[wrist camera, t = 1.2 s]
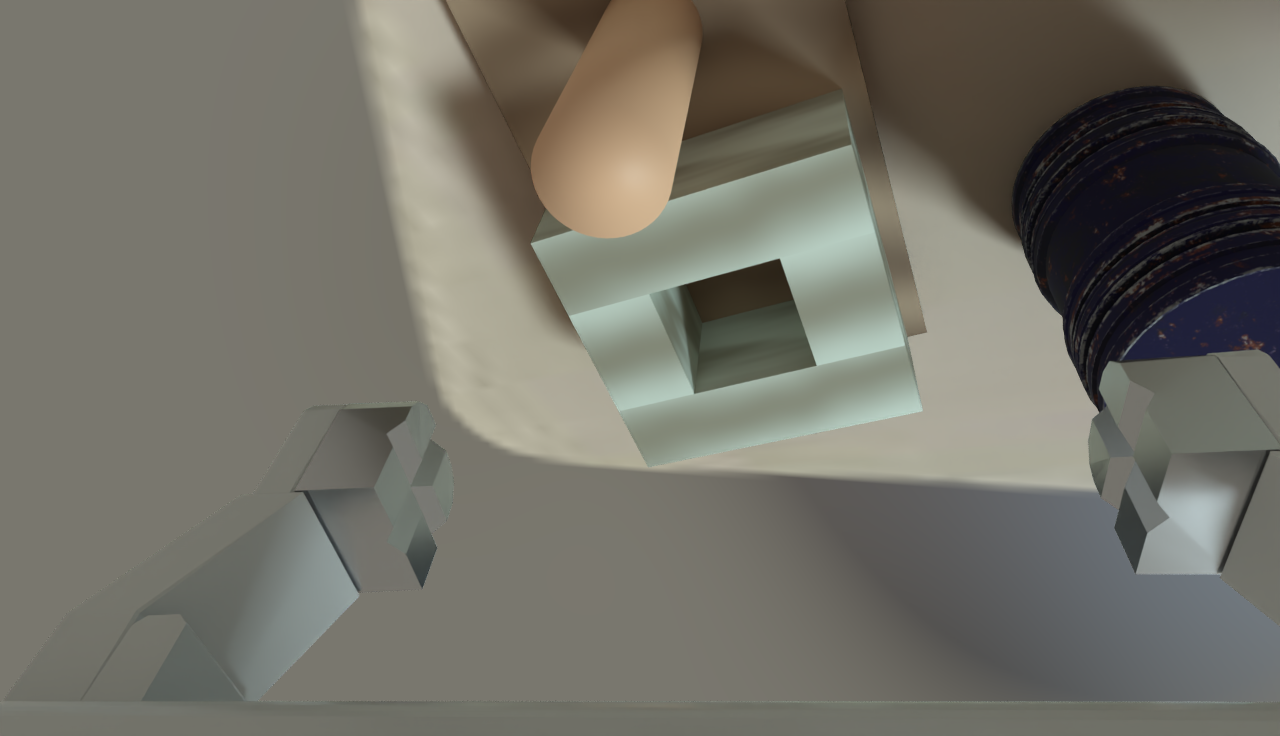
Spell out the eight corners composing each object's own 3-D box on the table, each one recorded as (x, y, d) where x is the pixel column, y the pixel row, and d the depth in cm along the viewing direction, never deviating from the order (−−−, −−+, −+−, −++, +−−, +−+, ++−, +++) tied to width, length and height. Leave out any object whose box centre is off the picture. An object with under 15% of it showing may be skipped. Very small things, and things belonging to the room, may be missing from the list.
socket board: (922, 316, 46) (944, 406, 40) (646, 381, 51) (630, 470, 45) (801, -176, 33) (807, -147, 27) (449, -23, 38) (390, 29, 33)
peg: (723, 23, 37) (702, 164, 26) (663, 103, 39) (620, 262, 28) (639, -44, 36) (579, 74, 25) (582, 43, 38) (505, 185, 27)
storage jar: (1166, 34, 36) (1352, 196, 25) (1283, 184, 40) (1496, 390, 28) (965, 189, 42) (1040, 383, 30) (1083, 310, 45) (1192, 528, 33)
